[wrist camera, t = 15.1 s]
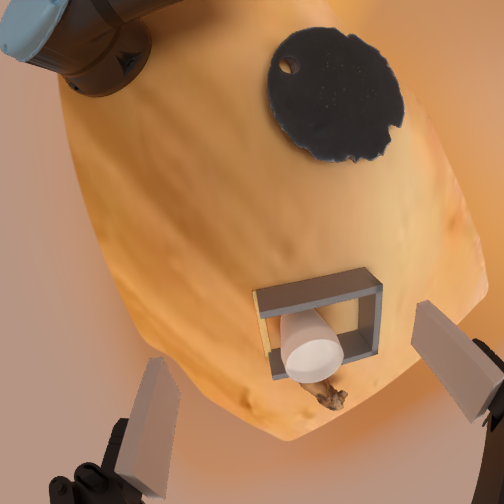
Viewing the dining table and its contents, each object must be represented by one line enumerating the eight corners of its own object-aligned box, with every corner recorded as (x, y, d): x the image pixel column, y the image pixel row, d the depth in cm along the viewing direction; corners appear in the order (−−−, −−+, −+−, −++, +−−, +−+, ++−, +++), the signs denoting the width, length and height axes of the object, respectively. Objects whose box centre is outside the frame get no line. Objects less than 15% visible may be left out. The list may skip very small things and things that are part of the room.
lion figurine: (341, 373, 54) (354, 403, 45) (324, 388, 55) (335, 418, 47) (293, 347, 50) (302, 380, 42) (275, 364, 51) (281, 397, 43)
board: (228, 79, 34) (229, 68, 30) (334, 20, 32) (345, 7, 27) (319, 193, 41) (332, 197, 36) (409, 122, 38) (427, 120, 34)
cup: (305, 344, 50) (320, 389, 39) (264, 328, 48) (272, 375, 37) (332, 307, 48) (356, 348, 36) (291, 288, 46) (307, 329, 35)
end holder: (252, 290, 46) (255, 313, 39) (364, 267, 45) (382, 284, 39) (265, 355, 50) (269, 381, 44) (363, 332, 50) (377, 354, 44)
